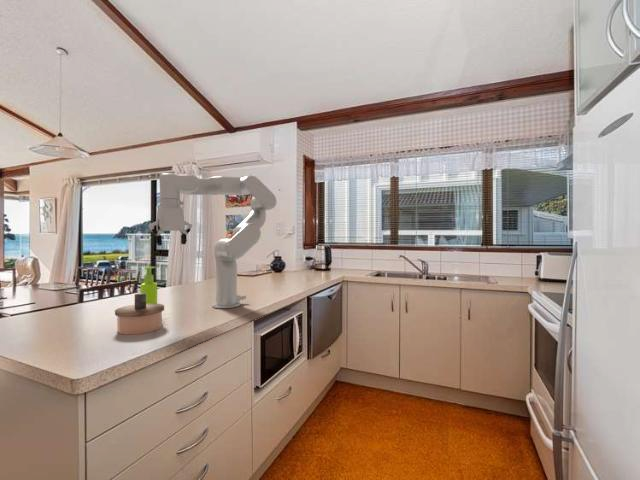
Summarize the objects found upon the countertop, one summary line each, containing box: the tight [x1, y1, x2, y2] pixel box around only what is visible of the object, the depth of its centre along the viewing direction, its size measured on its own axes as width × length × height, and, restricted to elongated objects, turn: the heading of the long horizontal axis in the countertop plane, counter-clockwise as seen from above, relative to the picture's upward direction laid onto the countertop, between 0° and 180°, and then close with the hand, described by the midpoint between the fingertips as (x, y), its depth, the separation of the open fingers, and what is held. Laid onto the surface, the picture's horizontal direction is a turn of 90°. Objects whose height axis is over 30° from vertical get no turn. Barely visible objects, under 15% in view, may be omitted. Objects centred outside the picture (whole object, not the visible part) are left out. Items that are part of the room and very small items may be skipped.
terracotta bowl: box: [116, 311, 163, 335], centre depth 108 cm, size 13×13×6 cm
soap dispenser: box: [140, 266, 158, 304], centre depth 126 cm, size 6×7×20 cm
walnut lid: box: [114, 292, 165, 317], centre depth 108 cm, size 15×15×6 cm
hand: (171, 244), depth 128 cm, fingers open, 9 cm apart
